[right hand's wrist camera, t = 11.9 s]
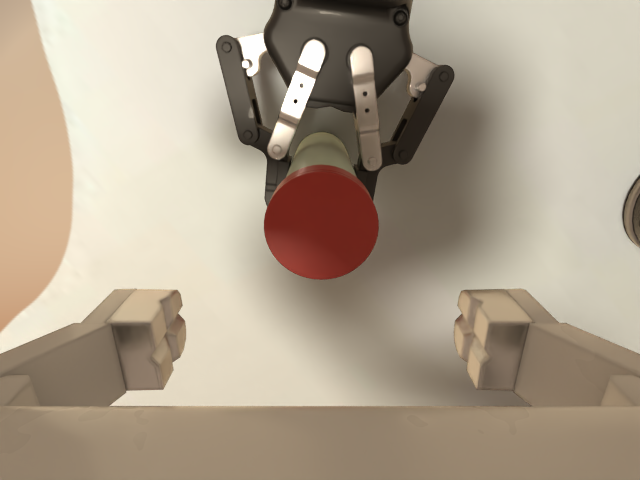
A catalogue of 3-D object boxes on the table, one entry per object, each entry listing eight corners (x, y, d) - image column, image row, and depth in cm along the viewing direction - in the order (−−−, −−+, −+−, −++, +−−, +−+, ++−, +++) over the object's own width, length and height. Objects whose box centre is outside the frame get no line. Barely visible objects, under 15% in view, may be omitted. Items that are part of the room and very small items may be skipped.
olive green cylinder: (321, 120, 31) (321, 153, 15) (358, 158, 32) (391, 224, 17) (284, 158, 32) (251, 225, 17) (321, 194, 33) (321, 287, 18)
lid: (321, 140, 16) (321, 146, 15) (395, 216, 18) (402, 228, 16) (246, 217, 18) (240, 228, 16) (321, 283, 19) (321, 299, 17)
